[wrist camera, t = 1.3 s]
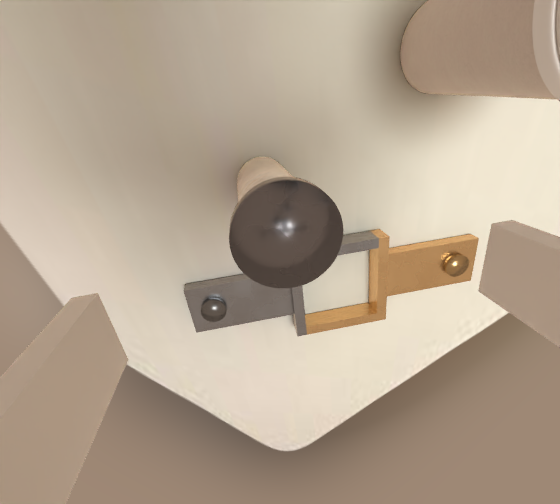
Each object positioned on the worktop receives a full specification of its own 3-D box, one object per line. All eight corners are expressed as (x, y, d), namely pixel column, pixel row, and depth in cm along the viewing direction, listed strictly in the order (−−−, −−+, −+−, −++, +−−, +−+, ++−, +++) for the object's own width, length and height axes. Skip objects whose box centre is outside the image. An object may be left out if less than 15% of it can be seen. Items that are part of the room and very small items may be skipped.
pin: (225, 155, 24) (217, 191, 12) (289, 145, 25) (341, 172, 13) (237, 217, 26) (240, 297, 15) (296, 208, 27) (344, 278, 15)
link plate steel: (179, 263, 27) (175, 273, 26) (369, 230, 29) (379, 238, 27) (202, 341, 32) (201, 355, 30) (368, 309, 33) (376, 320, 31)
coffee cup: (465, -70, 20) (926, -441, 7) (514, 54, 24) (872, -26, 11) (357, 39, 22) (553, -82, 9) (418, 139, 26) (621, 163, 12)
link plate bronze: (294, 243, 28) (298, 252, 26) (473, 213, 30) (489, 219, 28) (302, 322, 32) (307, 334, 31) (460, 292, 34) (472, 301, 32)
